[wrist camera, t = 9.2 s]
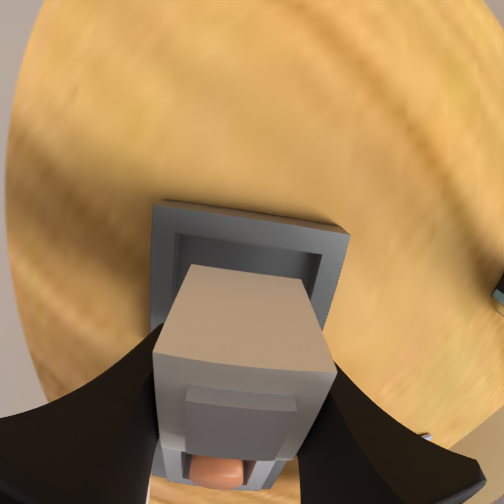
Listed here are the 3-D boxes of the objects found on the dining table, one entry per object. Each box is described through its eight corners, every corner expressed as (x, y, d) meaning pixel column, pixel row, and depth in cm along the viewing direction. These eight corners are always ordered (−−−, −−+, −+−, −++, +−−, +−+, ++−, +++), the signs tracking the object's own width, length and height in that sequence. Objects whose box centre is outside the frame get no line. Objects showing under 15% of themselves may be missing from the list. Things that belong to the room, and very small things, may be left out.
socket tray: (340, 226, 13) (350, 235, 11) (300, 363, 15) (304, 380, 14) (162, 199, 12) (153, 205, 11) (158, 345, 15) (151, 361, 14)
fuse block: (301, 279, 11) (343, 387, 5) (279, 362, 12) (294, 472, 7) (191, 264, 10) (145, 367, 5) (185, 350, 12) (158, 460, 6)
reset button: (246, 435, 14) (246, 472, 12) (239, 457, 15) (239, 491, 13) (194, 429, 14) (188, 466, 11) (193, 452, 15) (188, 485, 12)
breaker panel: (307, 387, 16) (321, 445, 12) (269, 471, 20) (271, 512, 16) (143, 367, 15) (121, 423, 11) (156, 457, 19) (147, 498, 15)
